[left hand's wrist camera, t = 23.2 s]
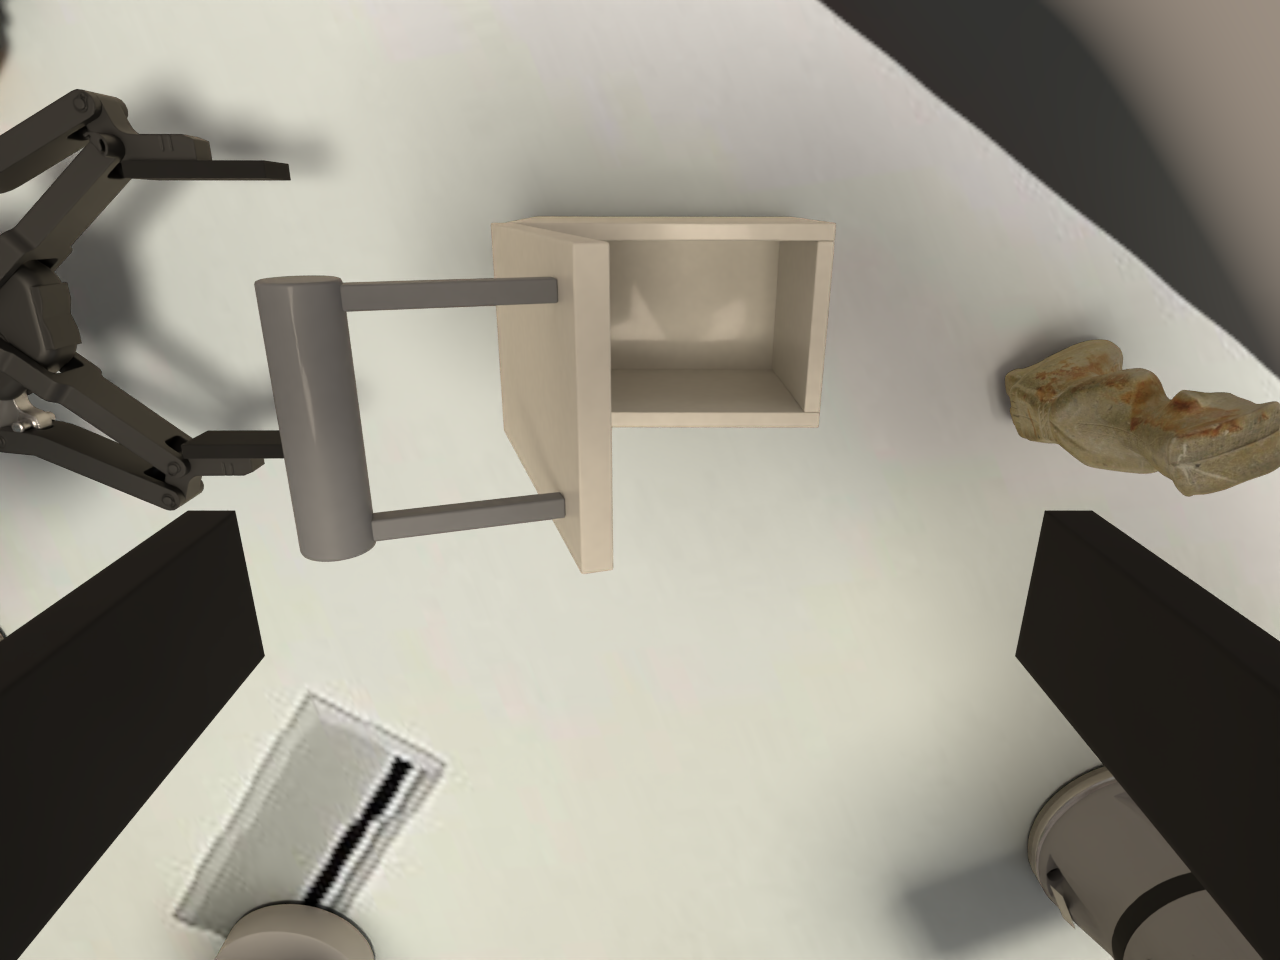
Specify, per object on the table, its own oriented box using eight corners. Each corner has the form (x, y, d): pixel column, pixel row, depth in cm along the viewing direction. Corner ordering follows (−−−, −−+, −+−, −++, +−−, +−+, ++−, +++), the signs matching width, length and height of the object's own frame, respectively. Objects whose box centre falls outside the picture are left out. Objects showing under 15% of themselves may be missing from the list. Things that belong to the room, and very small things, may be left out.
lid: (609, 241, 20) (232, 247, 17) (613, 570, 23) (298, 617, 21) (513, 222, 34) (297, 224, 31) (524, 429, 37) (330, 446, 35)
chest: (792, 216, 44) (836, 222, 34) (781, 379, 48) (818, 427, 38) (535, 216, 44) (504, 222, 34) (542, 378, 48) (516, 427, 38)
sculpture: (1111, 409, 48) (1303, 497, 34) (997, 440, 49) (1141, 539, 35) (1103, 321, 46) (1304, 376, 32) (985, 355, 47) (1132, 423, 33)
